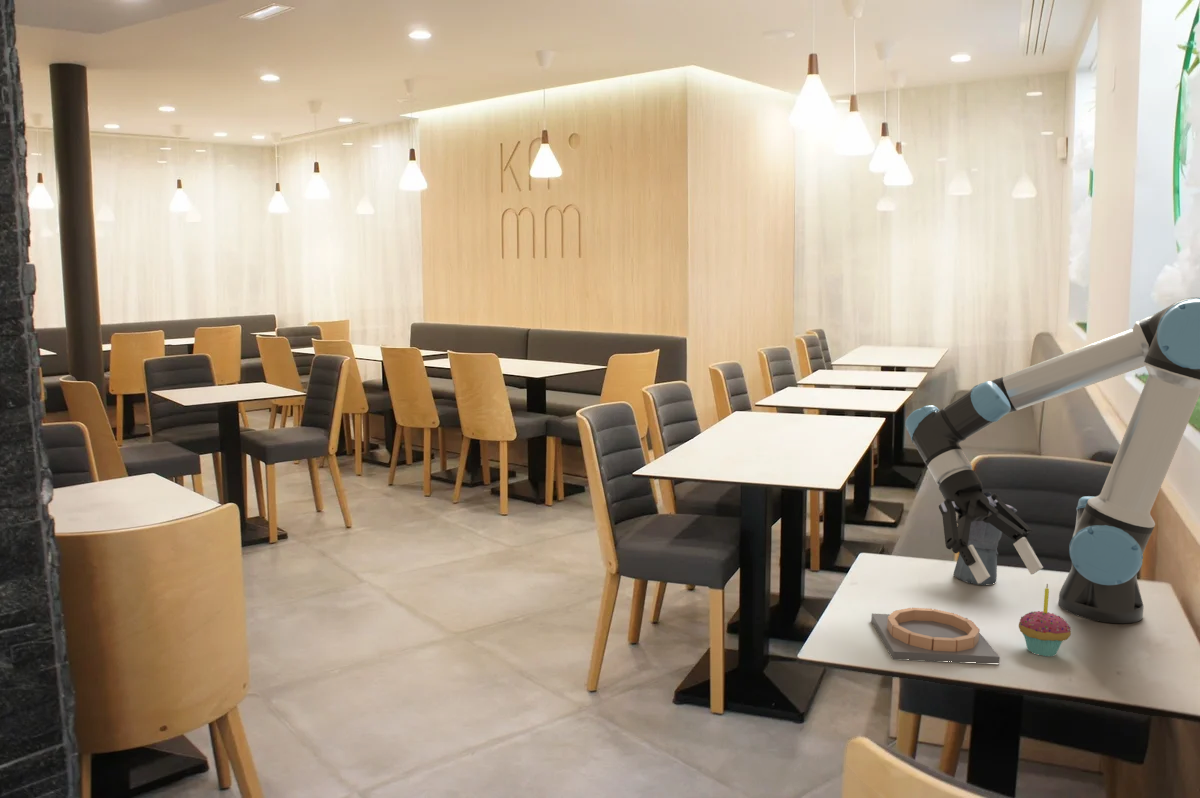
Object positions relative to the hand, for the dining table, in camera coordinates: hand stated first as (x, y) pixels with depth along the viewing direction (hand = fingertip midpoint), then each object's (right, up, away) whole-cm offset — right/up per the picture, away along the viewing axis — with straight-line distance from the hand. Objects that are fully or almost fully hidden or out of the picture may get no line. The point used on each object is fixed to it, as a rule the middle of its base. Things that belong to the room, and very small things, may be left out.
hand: (1011, 575), depth 174 cm
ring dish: (-15, -12, -1) cm, 19 cm away
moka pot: (+6, -7, +34) cm, 35 cm away
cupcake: (+4, -13, -4) cm, 14 cm away
